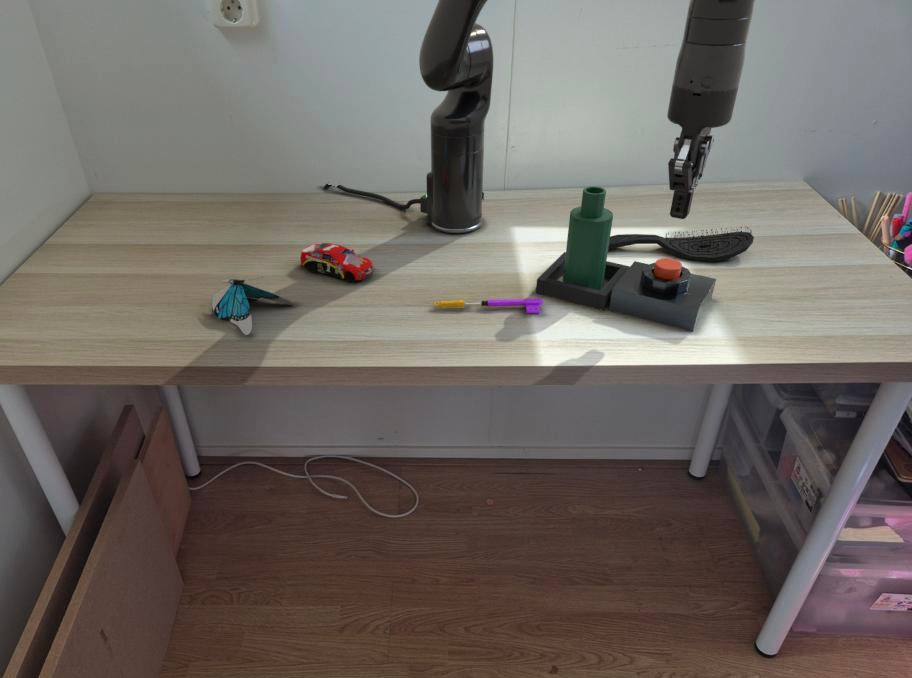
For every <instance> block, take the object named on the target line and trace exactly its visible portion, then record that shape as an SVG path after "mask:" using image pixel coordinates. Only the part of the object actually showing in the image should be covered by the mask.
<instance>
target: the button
mask: <svg viewBox="0 0 912 678" xmlns="http://www.w3.org/2000/svg"><path fill="white" fill-rule="evenodd" d="M654 263H655V267H654V272H653V274H654V275H655V276H657V277H659V278H663V279H677V278H679V277H680V273H681V268H682V266H683V264H682V262H681V261H679V260H677V259H675V258H669V257H663V258H658V259H657V260H655V262H654Z"/></svg>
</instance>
